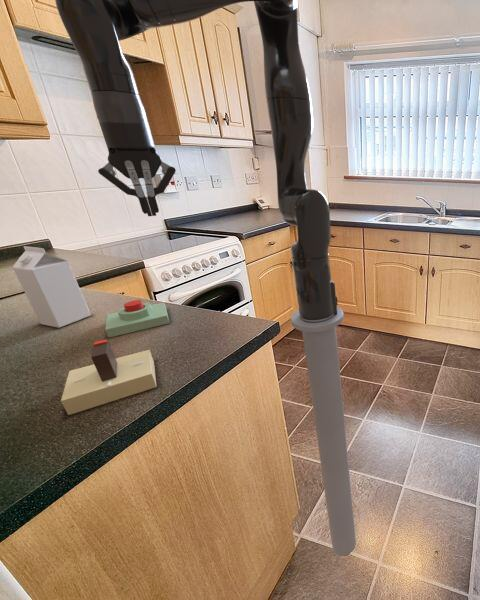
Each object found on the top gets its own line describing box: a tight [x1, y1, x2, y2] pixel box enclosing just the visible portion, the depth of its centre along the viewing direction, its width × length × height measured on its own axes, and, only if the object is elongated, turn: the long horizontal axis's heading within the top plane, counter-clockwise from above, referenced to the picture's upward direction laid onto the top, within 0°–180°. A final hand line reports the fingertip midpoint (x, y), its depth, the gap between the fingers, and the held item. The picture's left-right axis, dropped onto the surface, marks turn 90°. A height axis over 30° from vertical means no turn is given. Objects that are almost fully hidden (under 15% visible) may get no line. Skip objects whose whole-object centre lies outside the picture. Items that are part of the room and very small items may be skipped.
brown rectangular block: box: [90, 339, 117, 381], centre depth 59 cm, size 6×2×5 cm, turn 36°
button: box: [123, 299, 144, 312], centre depth 82 cm, size 4×4×2 cm
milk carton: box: [12, 245, 92, 328], centre depth 82 cm, size 7×7×19 cm
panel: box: [60, 349, 157, 416], centre depth 61 cm, size 12×10×3 cm
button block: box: [104, 302, 170, 339], centre depth 83 cm, size 12×10×4 cm
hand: (152, 215), depth 70 cm, fingers closed
